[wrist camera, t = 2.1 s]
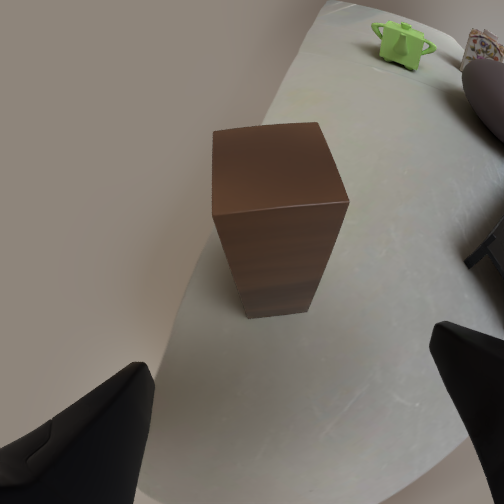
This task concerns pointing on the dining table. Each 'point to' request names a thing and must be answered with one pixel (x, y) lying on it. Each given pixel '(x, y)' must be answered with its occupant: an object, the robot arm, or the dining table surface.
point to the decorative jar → (482, 47)
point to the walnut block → (276, 212)
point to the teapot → (402, 44)
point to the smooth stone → (486, 92)
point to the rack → (491, 249)
